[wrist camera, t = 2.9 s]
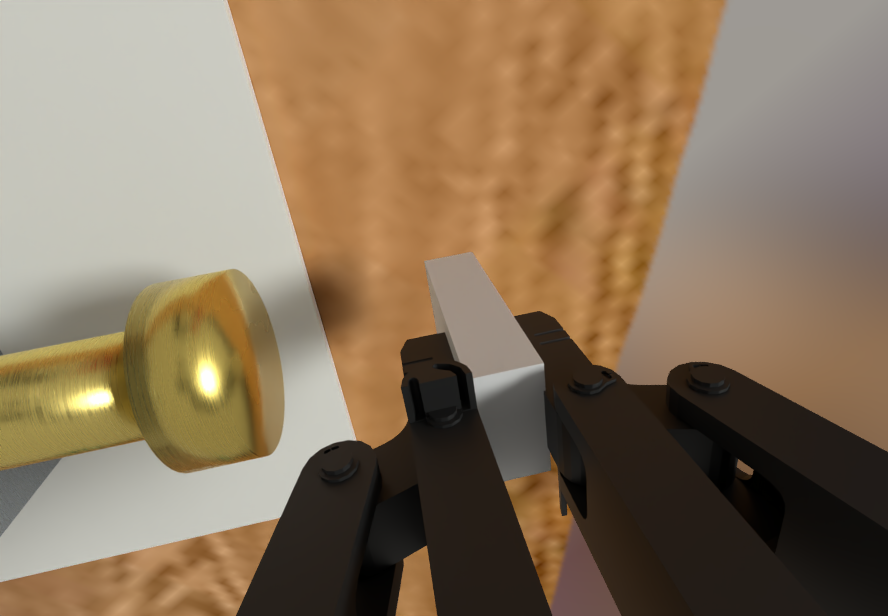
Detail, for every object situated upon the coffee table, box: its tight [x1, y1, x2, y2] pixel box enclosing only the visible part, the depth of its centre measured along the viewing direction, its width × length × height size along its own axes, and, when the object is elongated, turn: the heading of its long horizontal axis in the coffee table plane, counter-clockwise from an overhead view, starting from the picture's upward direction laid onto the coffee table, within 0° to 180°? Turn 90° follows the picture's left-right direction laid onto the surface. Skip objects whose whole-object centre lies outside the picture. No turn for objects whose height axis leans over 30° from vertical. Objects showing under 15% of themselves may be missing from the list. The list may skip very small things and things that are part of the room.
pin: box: [0, 269, 285, 474], centre depth 13 cm, size 13×5×5 cm, turn 99°
